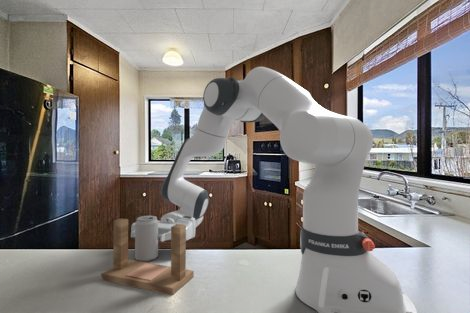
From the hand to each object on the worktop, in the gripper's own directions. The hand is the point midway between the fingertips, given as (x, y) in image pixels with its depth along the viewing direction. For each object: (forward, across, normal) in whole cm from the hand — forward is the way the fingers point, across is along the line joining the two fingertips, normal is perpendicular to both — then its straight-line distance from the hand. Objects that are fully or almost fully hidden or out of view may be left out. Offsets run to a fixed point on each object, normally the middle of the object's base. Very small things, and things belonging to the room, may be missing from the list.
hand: (145, 236), depth 74 cm
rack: (+10, +8, +6) cm, 14 cm away
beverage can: (0, 0, +7) cm, 7 cm away
